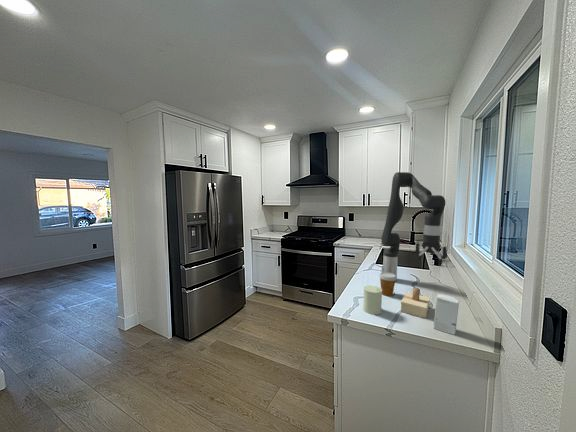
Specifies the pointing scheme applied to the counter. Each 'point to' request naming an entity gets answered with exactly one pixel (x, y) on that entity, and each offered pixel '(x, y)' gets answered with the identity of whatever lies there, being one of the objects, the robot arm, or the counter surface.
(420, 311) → the tan shallow open box
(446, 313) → the skincare box
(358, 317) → the counter surface
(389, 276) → the disposable coffee cup
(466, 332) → the counter surface
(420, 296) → the lid
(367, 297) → the can
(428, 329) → the counter surface
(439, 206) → the robot arm
